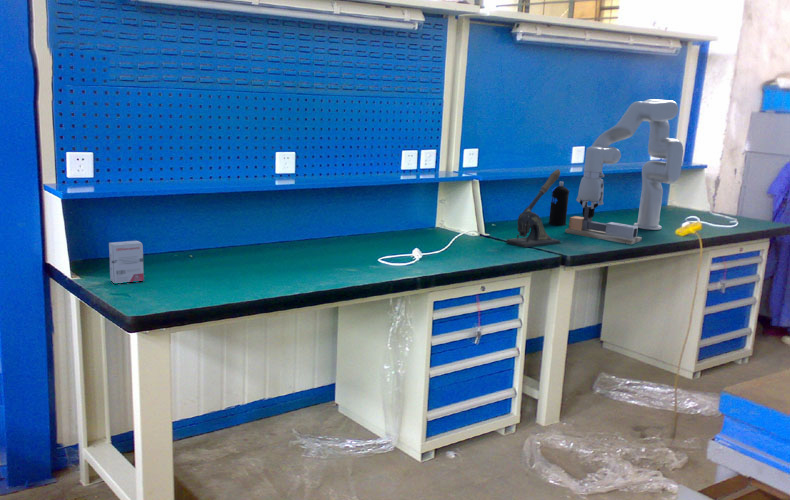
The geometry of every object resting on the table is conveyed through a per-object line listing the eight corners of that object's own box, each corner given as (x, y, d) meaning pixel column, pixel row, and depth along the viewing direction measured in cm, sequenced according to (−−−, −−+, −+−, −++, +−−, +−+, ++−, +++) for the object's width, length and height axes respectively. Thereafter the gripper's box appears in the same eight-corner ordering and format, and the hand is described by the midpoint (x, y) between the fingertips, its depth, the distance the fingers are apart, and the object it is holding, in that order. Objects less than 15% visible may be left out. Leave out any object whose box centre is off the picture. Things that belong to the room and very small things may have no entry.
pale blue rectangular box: (609, 233, 319) (611, 222, 318) (636, 237, 312) (638, 226, 311) (605, 234, 315) (606, 223, 314) (632, 239, 308) (633, 227, 307)
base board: (577, 229, 332) (577, 226, 332) (641, 240, 314) (641, 237, 314) (565, 232, 323) (565, 229, 323) (630, 244, 305) (631, 241, 305)
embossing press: (503, 243, 295) (510, 169, 288) (544, 238, 309) (551, 167, 302) (523, 248, 286) (530, 172, 280) (564, 243, 300) (571, 171, 294)
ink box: (139, 278, 218) (138, 239, 215) (144, 282, 214) (143, 242, 212) (109, 281, 213) (108, 241, 211) (113, 285, 209) (112, 245, 207)
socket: (574, 226, 330) (575, 216, 329) (586, 229, 326) (587, 218, 325) (568, 228, 325) (569, 217, 324) (581, 230, 322) (582, 219, 321)
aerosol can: (564, 223, 346) (569, 181, 342) (567, 226, 338) (571, 183, 334) (547, 221, 347) (551, 180, 343) (549, 225, 339) (553, 182, 335)
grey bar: (580, 227, 327) (582, 204, 325) (615, 233, 317) (618, 210, 315) (575, 228, 324) (578, 205, 322) (611, 234, 314) (614, 211, 312)
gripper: (613, 177, 316) (608, 218, 320) (579, 172, 325) (574, 213, 330) (606, 178, 310) (601, 220, 314) (571, 173, 320) (567, 215, 324)
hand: (587, 216), depth 322 cm, fingers closed on grey bar, 2 cm apart
